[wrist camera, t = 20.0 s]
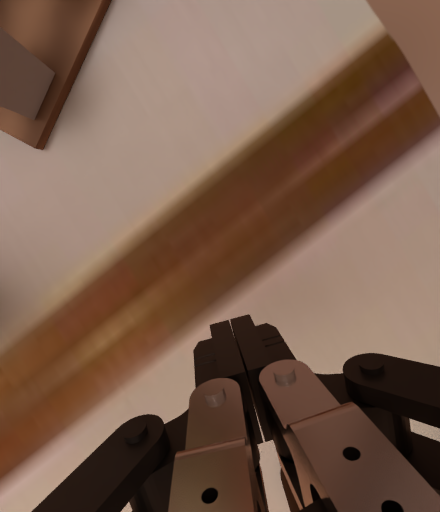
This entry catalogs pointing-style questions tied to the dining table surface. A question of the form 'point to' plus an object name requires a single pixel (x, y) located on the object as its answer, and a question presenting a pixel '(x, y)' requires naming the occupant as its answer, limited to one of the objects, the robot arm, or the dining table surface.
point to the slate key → (21, 78)
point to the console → (50, 54)
